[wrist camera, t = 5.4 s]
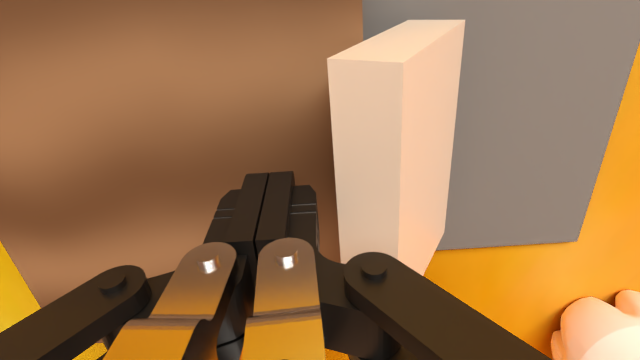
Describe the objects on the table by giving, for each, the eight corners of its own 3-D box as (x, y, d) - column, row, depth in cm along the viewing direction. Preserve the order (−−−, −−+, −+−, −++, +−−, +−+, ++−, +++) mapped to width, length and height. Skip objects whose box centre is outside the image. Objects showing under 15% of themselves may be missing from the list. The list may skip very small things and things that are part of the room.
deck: (-57, -60, 13) (-187, -66, 10) (348, -97, 13) (359, -118, 10) (104, 282, 21) (63, 344, 18) (360, 265, 21) (369, 327, 17)
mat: (348, -97, 13) (348, -99, 13) (685, -129, 13) (693, -131, 12) (360, 251, 20) (360, 255, 20) (573, 237, 20) (577, 241, 20)
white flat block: (326, 58, 10) (403, 62, 9) (408, 19, 14) (465, 19, 13) (344, 309, 14) (396, 330, 13) (402, 221, 19) (444, 232, 18)
